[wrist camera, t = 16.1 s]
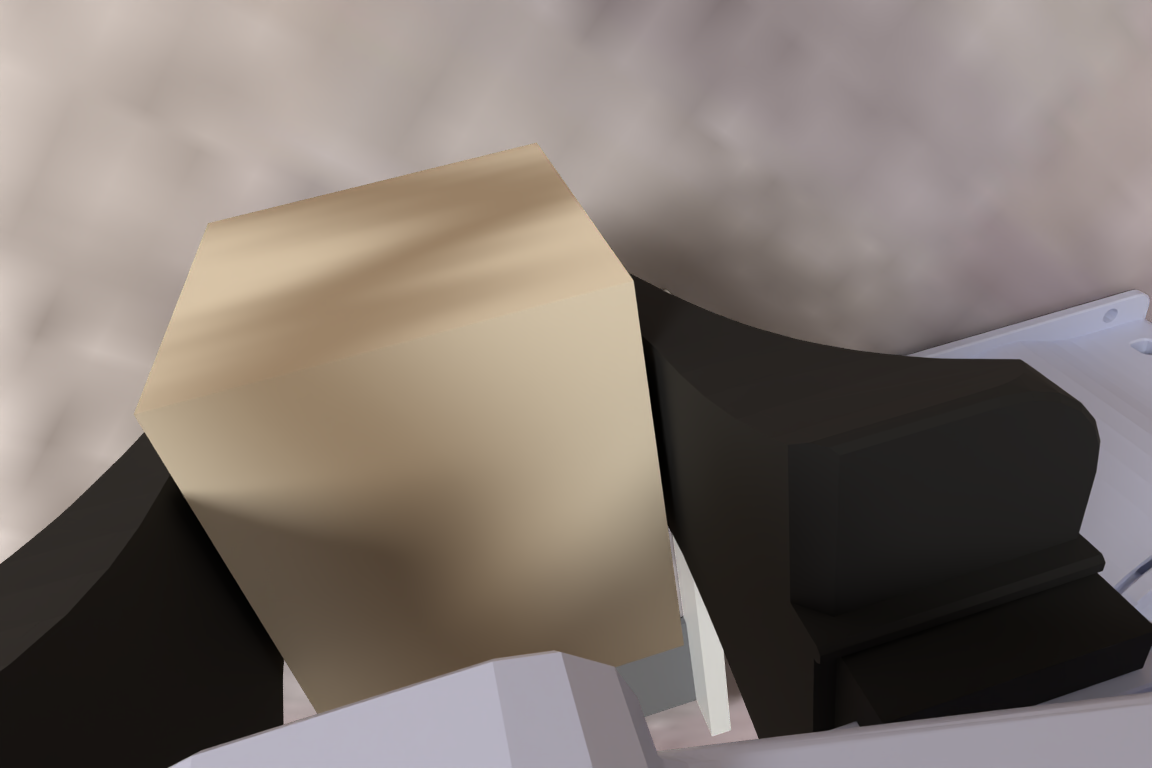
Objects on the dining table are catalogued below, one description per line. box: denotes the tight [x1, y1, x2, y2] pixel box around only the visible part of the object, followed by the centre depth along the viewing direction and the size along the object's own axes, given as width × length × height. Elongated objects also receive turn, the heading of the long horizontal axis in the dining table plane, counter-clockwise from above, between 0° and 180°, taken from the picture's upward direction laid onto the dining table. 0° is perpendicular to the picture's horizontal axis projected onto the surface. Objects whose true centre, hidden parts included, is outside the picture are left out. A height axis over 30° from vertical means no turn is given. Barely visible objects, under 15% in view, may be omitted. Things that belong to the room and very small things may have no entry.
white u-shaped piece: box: [615, 290, 731, 736], centre depth 26 cm, size 9×19×2 cm, turn 10°
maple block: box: [134, 143, 684, 714], centre depth 12 cm, size 5×6×5 cm
